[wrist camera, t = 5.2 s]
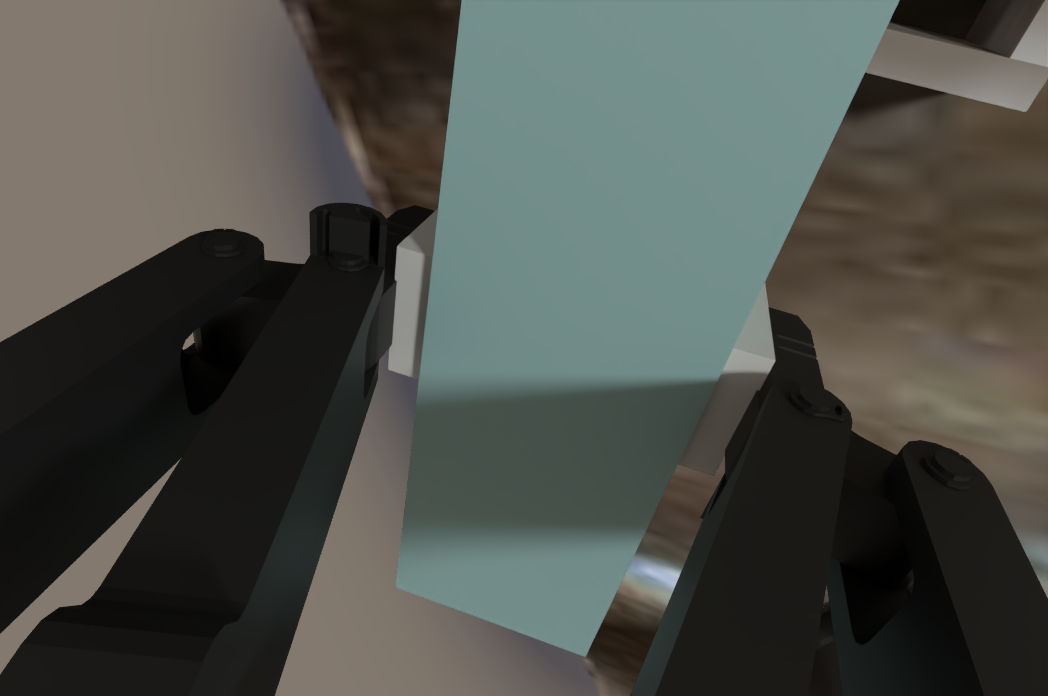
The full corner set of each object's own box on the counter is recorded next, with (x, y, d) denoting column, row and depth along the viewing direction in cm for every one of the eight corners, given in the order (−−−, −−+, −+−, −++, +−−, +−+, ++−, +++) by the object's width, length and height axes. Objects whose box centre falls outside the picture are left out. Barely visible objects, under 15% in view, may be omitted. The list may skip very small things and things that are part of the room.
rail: (640, 364, 26) (585, 657, 15) (526, 329, 26) (395, 587, 16) (818, -106, 16) (998, -206, 6) (635, -146, 17) (495, -304, 6)
